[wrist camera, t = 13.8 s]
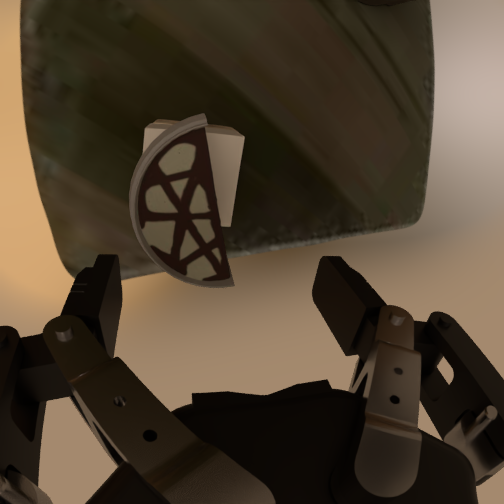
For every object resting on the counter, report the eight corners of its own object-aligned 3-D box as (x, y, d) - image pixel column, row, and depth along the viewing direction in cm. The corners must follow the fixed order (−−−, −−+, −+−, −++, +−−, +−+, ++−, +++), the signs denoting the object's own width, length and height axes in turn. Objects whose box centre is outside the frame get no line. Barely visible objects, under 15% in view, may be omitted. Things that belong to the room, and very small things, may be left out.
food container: (130, 123, 24) (103, 138, 16) (199, 108, 25) (206, 114, 16) (159, 246, 30) (153, 308, 22) (220, 233, 31) (235, 292, 23)
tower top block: (235, 130, 32) (244, 136, 27) (223, 208, 36) (230, 226, 31) (150, 123, 29) (145, 128, 25) (144, 204, 33) (139, 221, 29)
